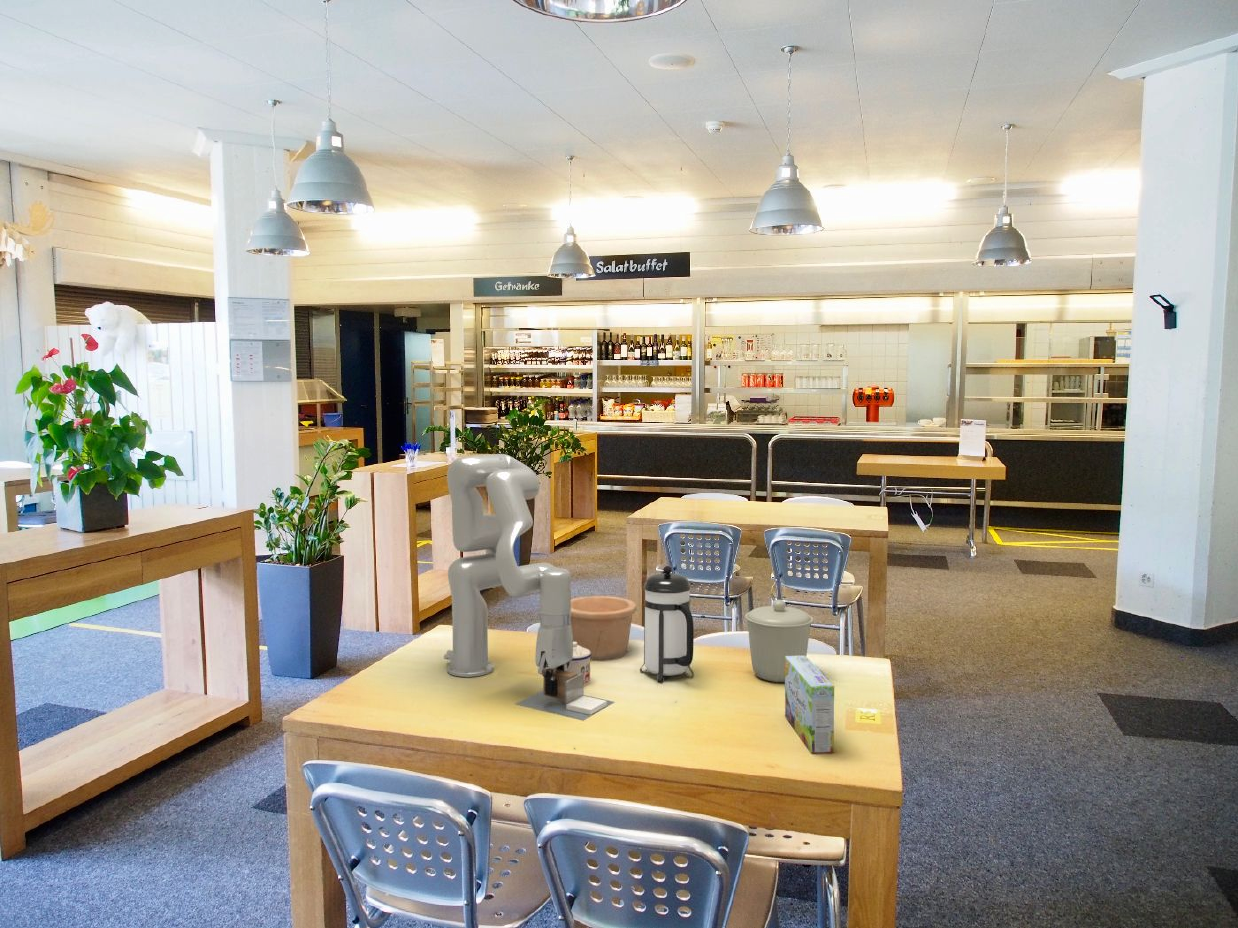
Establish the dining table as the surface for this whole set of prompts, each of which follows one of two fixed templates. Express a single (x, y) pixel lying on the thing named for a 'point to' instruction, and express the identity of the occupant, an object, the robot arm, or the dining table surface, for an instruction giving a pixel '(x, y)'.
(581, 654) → the teacup with lid
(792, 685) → the snack box
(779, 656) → the canister
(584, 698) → the tile
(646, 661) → the coffee press
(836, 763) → the dining table surface
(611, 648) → the pottery
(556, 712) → the slate board
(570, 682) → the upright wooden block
